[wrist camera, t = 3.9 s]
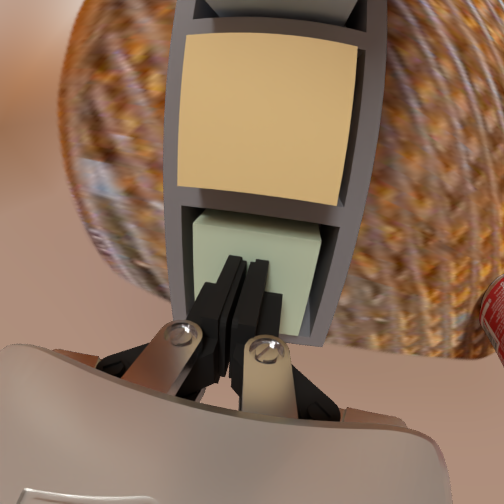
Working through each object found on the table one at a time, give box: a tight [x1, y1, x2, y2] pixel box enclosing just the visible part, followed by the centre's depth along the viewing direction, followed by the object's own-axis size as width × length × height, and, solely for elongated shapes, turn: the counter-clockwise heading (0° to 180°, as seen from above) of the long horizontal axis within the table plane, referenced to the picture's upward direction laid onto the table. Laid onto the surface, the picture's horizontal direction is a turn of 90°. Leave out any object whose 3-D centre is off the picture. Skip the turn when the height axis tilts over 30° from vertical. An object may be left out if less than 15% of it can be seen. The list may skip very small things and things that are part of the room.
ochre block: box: [177, 33, 358, 206], centre depth 9 cm, size 5×5×5 cm
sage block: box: [193, 208, 321, 336], centre depth 14 cm, size 5×5×5 cm
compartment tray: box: [163, 0, 387, 347], centre depth 11 cm, size 8×21×6 cm, turn 175°
